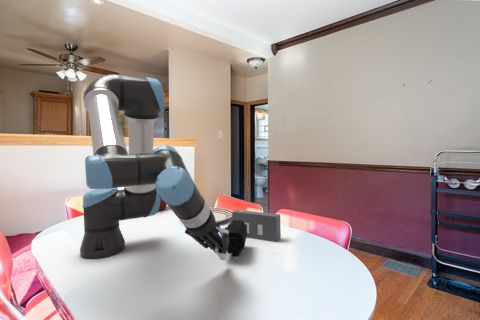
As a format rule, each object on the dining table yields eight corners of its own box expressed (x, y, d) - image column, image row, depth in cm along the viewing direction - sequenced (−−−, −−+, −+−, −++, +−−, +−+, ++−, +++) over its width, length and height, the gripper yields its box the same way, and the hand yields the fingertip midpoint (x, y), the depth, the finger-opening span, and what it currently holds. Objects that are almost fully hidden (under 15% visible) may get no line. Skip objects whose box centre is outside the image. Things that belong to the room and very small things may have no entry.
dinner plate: (226, 228, 127) (226, 221, 127) (171, 226, 133) (171, 220, 133) (238, 214, 154) (238, 208, 154) (192, 212, 160) (192, 207, 159)
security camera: (248, 243, 107) (247, 218, 106) (244, 263, 88) (243, 233, 88) (230, 243, 107) (229, 218, 107) (222, 263, 89) (221, 233, 89)
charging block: (276, 242, 107) (276, 216, 106) (232, 235, 117) (231, 211, 116) (280, 238, 111) (280, 213, 110) (237, 232, 121) (236, 209, 120)
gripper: (168, 227, 69) (202, 265, 85) (216, 231, 64) (241, 270, 81) (179, 202, 73) (209, 242, 90) (224, 204, 69) (247, 246, 85)
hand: (224, 255), depth 85 cm, fingers closed
